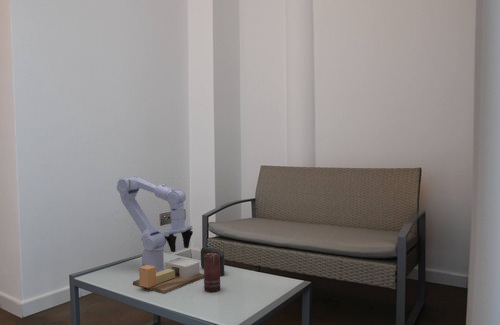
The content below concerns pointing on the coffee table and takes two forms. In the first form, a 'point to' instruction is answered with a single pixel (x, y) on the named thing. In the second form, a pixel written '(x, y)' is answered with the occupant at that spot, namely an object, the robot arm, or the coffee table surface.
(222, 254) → the leaning round-cornered charcoal block
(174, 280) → the walnut board
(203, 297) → the coffee table surface
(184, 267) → the block
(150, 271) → the tan wooden l-shaped block
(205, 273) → the can
